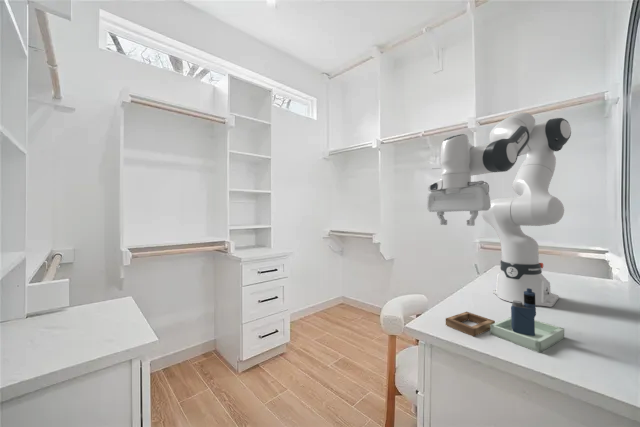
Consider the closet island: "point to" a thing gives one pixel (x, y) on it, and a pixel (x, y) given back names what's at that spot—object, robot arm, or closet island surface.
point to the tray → (541, 341)
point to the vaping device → (524, 314)
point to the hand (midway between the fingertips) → (456, 225)
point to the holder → (470, 330)
